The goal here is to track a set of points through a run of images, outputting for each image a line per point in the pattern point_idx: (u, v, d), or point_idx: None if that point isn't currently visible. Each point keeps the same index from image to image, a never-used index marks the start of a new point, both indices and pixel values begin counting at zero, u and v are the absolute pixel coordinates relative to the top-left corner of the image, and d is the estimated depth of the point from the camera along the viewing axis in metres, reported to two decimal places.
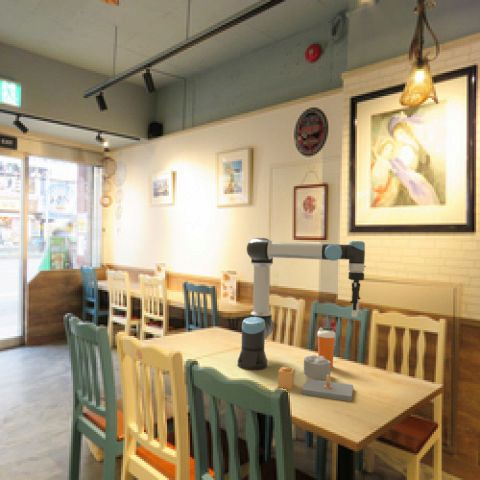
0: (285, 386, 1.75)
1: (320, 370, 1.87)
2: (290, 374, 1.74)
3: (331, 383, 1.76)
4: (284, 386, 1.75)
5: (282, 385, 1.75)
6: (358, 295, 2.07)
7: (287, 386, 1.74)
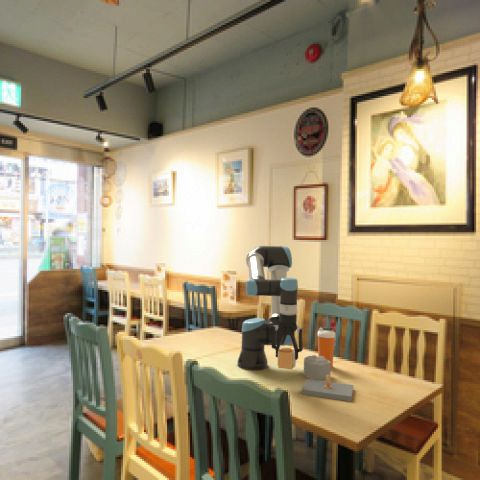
0: (285, 366, 1.75)
1: (320, 370, 1.87)
2: (290, 355, 1.74)
3: (331, 383, 1.76)
4: (284, 366, 1.75)
5: (282, 366, 1.76)
6: (293, 345, 1.76)
7: (287, 366, 1.75)
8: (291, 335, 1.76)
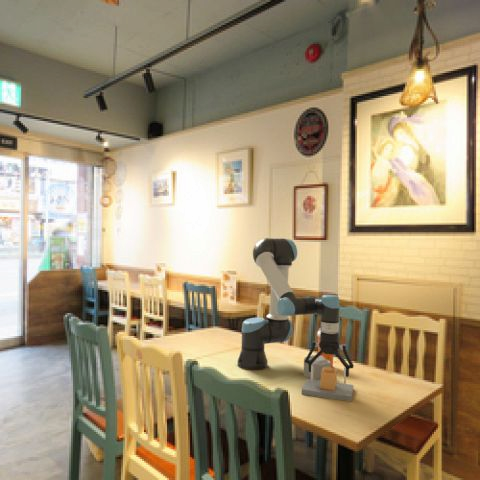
0: (328, 387, 1.69)
1: (320, 370, 1.87)
2: (334, 375, 1.68)
3: None
4: (327, 387, 1.69)
5: (325, 386, 1.69)
6: (342, 363, 1.69)
7: (330, 387, 1.68)
8: (336, 353, 1.69)
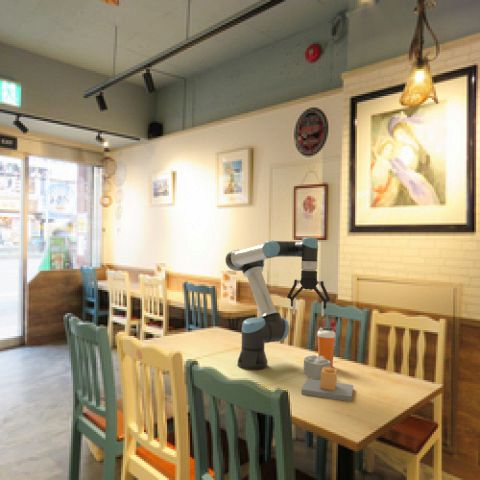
0: (328, 387, 1.69)
1: (320, 370, 1.87)
2: (334, 375, 1.68)
3: None
4: (327, 387, 1.69)
5: (325, 386, 1.69)
6: (320, 297, 1.90)
7: (330, 387, 1.68)
8: (314, 288, 1.90)
